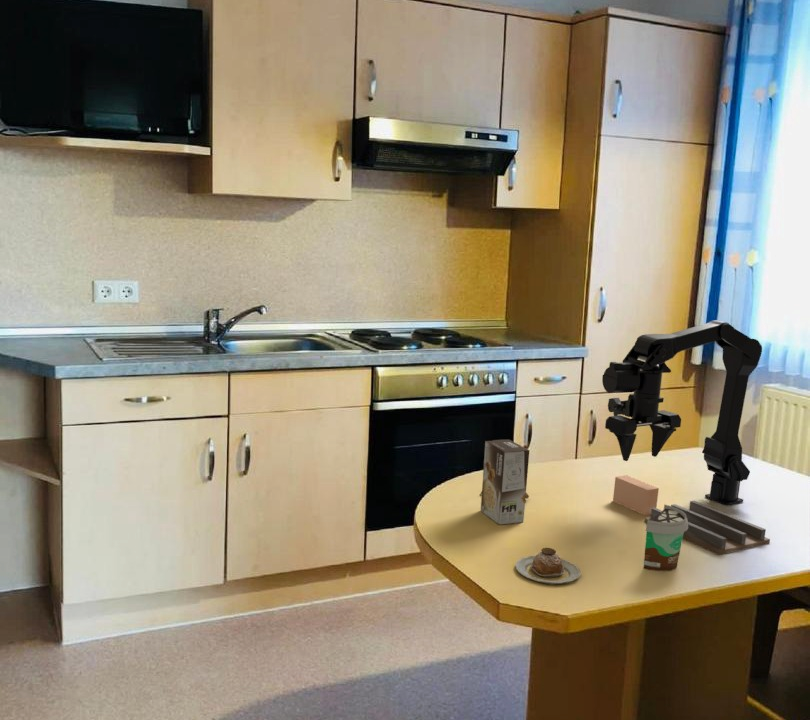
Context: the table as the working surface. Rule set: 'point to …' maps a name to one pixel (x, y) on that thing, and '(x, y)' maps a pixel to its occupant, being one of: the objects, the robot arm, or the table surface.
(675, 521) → the food container
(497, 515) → the coffee box
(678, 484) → the table surface
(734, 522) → the ribbed brown panel
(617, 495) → the terracotta strip
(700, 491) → the table surface
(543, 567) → the pastry
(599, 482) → the table surface
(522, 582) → the table surface
